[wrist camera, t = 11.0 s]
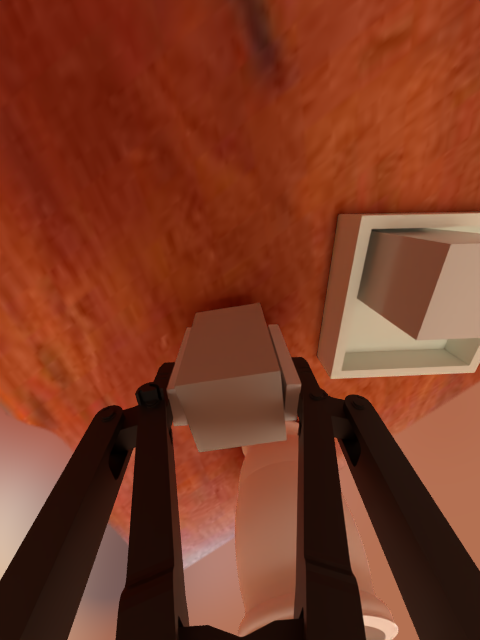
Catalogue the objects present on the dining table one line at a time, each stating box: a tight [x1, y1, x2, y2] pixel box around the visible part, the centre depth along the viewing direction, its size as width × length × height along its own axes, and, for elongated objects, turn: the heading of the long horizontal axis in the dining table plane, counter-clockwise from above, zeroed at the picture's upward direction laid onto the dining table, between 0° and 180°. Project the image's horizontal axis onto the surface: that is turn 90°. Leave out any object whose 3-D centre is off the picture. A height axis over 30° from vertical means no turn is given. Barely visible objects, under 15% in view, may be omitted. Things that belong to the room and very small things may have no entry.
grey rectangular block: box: [174, 303, 287, 452], centre depth 16 cm, size 5×5×8 cm
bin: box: [317, 211, 480, 379], centre depth 19 cm, size 13×13×4 cm
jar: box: [235, 421, 398, 640], centre depth 22 cm, size 11×10×15 cm
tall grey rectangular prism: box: [357, 228, 480, 340], centre depth 15 cm, size 5×5×8 cm
